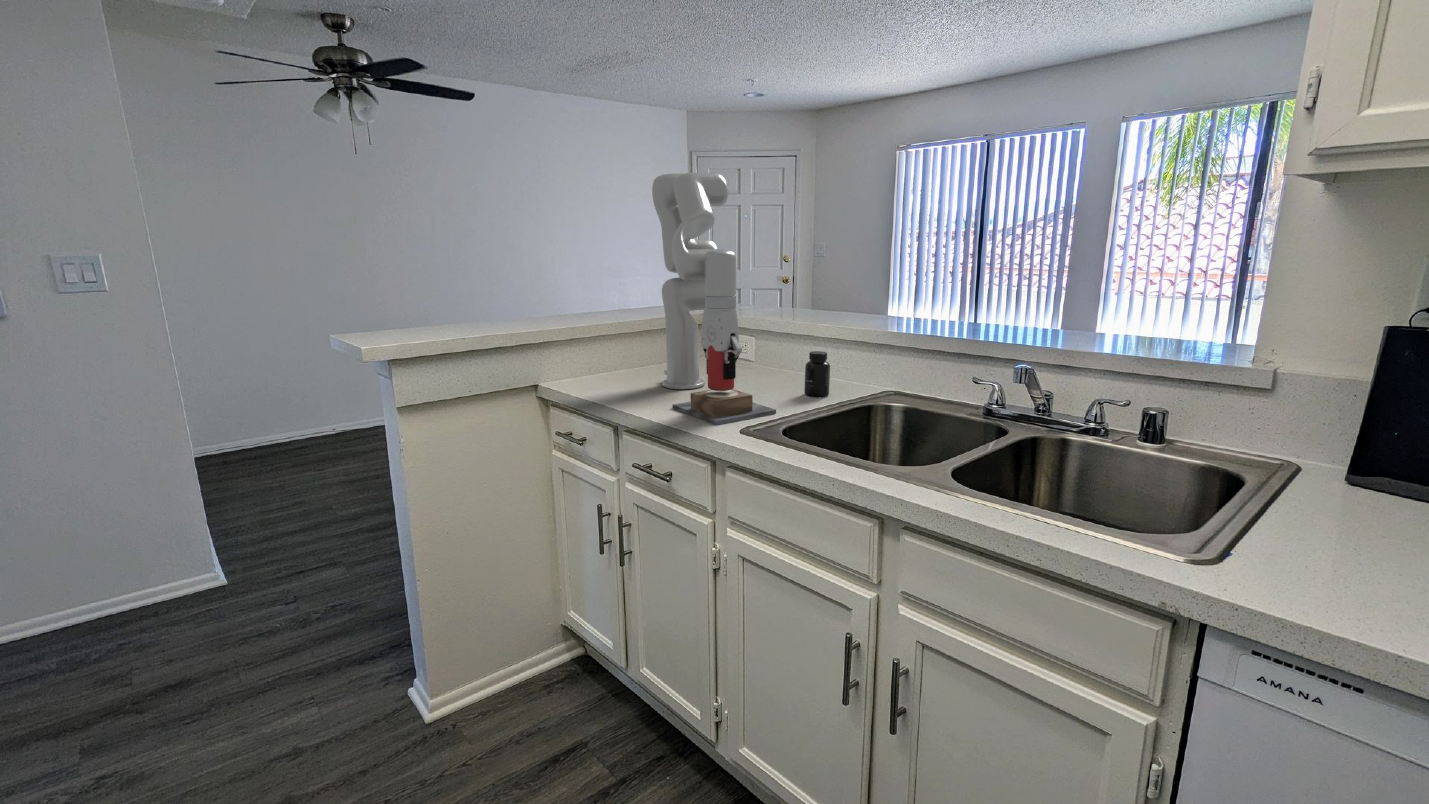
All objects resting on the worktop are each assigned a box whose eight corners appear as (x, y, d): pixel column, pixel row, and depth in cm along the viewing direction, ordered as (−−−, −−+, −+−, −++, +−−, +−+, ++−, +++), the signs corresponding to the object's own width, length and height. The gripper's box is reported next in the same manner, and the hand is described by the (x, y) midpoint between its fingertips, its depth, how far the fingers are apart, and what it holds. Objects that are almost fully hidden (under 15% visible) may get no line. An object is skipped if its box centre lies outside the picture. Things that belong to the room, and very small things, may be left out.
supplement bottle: (801, 396, 184) (802, 353, 181) (807, 391, 190) (808, 349, 187) (826, 398, 181) (827, 355, 179) (831, 393, 188) (833, 351, 185)
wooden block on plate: (672, 408, 173) (671, 388, 171) (729, 398, 183) (729, 379, 181) (716, 425, 157) (716, 403, 155) (776, 413, 166) (776, 393, 165)
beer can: (731, 392, 162) (731, 342, 159) (705, 391, 163) (704, 342, 160) (736, 386, 168) (736, 338, 165) (710, 385, 169) (710, 338, 166)
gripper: (687, 301, 165) (689, 372, 170) (728, 307, 152) (729, 384, 156) (713, 299, 170) (713, 369, 174) (755, 305, 156) (754, 380, 160)
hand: (720, 376), depth 165 cm, fingers closed on beer can, 6 cm apart
